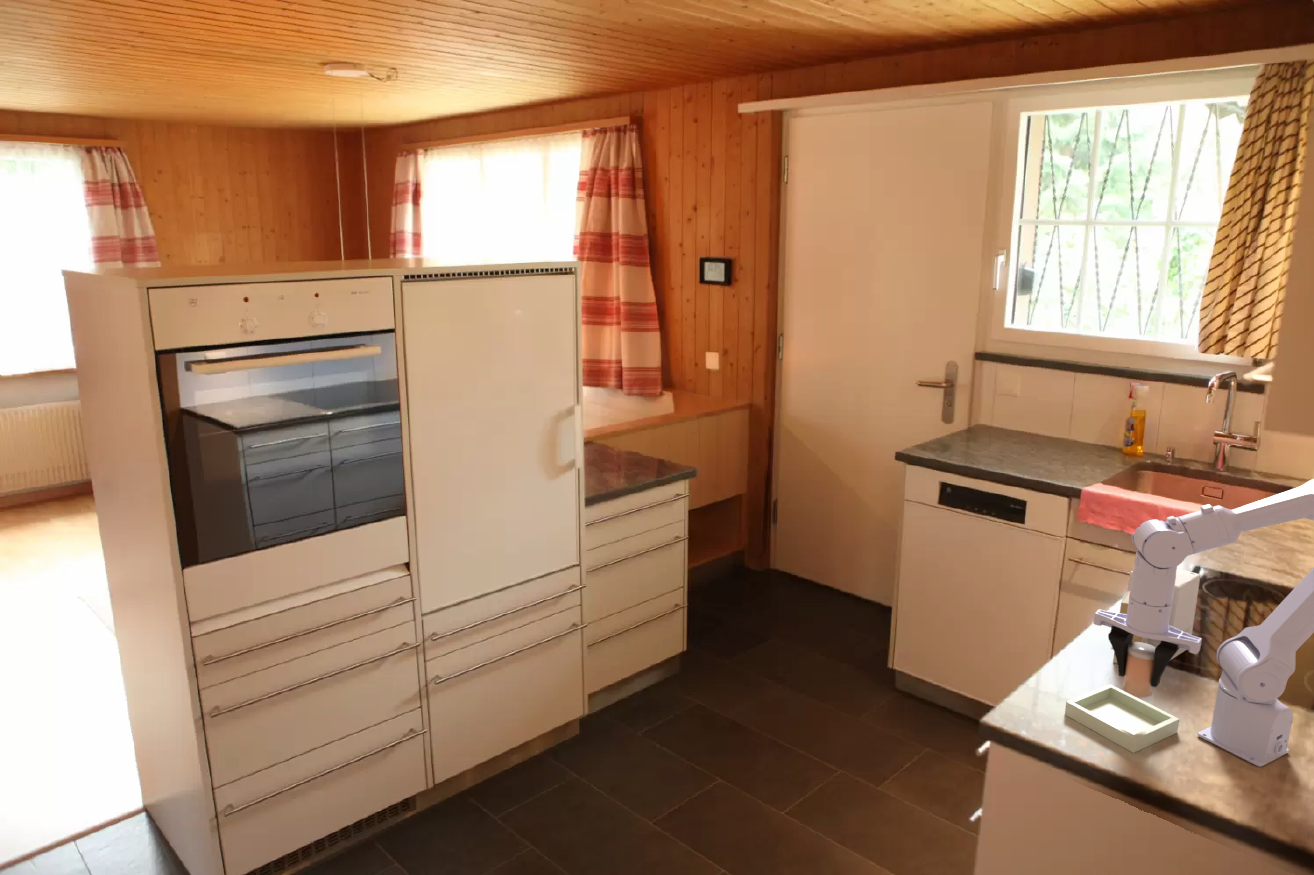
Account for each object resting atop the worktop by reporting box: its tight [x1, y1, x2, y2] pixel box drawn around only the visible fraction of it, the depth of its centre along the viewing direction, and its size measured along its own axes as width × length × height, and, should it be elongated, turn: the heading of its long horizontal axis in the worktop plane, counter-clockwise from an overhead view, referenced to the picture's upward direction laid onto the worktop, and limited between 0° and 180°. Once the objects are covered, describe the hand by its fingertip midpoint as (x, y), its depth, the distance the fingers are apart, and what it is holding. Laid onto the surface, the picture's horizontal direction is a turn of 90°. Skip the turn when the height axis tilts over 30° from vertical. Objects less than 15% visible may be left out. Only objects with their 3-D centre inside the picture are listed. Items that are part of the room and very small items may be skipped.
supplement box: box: [1127, 567, 1201, 661], centre depth 165 cm, size 9×9×15 cm
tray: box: [1064, 683, 1180, 754], centre depth 142 cm, size 12×11×2 cm
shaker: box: [1122, 642, 1156, 698], centre depth 138 cm, size 4×4×7 cm
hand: (1138, 679), depth 139 cm, fingers closed on shaker, 4 cm apart
